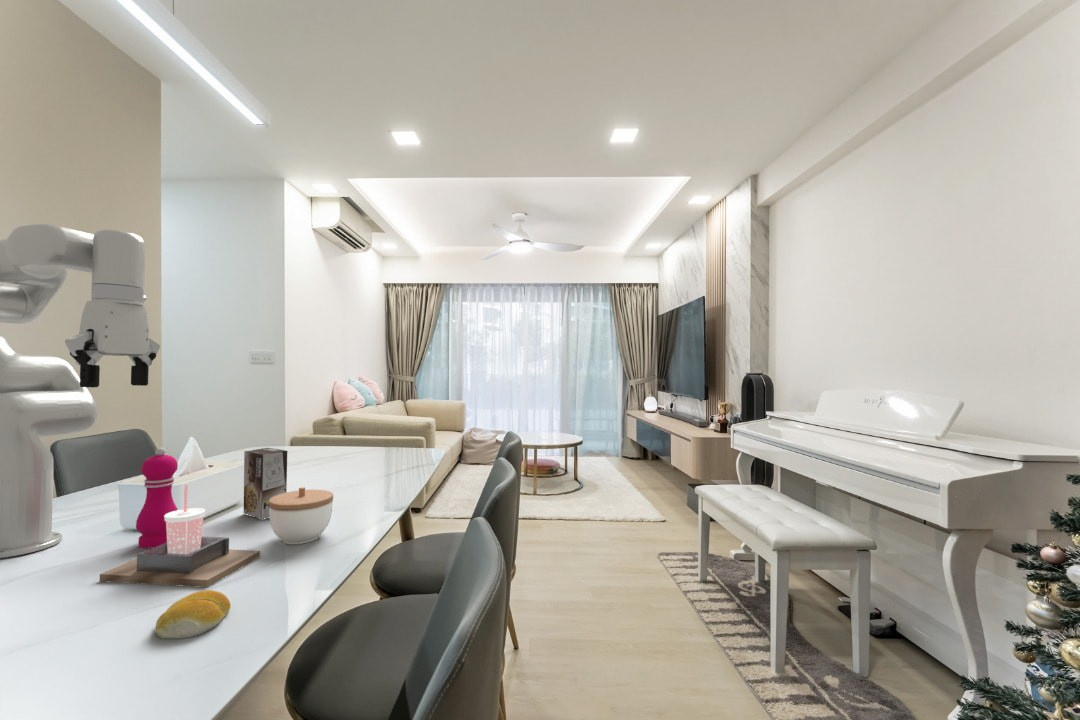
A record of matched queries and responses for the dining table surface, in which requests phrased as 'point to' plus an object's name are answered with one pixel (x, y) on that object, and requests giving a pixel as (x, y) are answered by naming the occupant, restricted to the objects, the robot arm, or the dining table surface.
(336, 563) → the dining table surface
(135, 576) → the cup holder
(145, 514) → the pepper mill
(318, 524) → the lidded bowl
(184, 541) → the beverage cup
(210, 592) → the bread roll
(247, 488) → the coffee box
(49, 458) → the robot arm
